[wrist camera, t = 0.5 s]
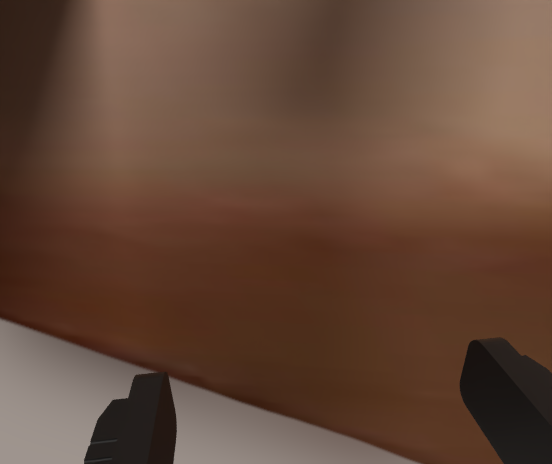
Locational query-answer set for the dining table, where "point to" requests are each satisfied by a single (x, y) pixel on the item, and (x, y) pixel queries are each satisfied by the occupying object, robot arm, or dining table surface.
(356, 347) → the dining table surface
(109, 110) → the dining table surface
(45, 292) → the dining table surface
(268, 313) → the dining table surface
